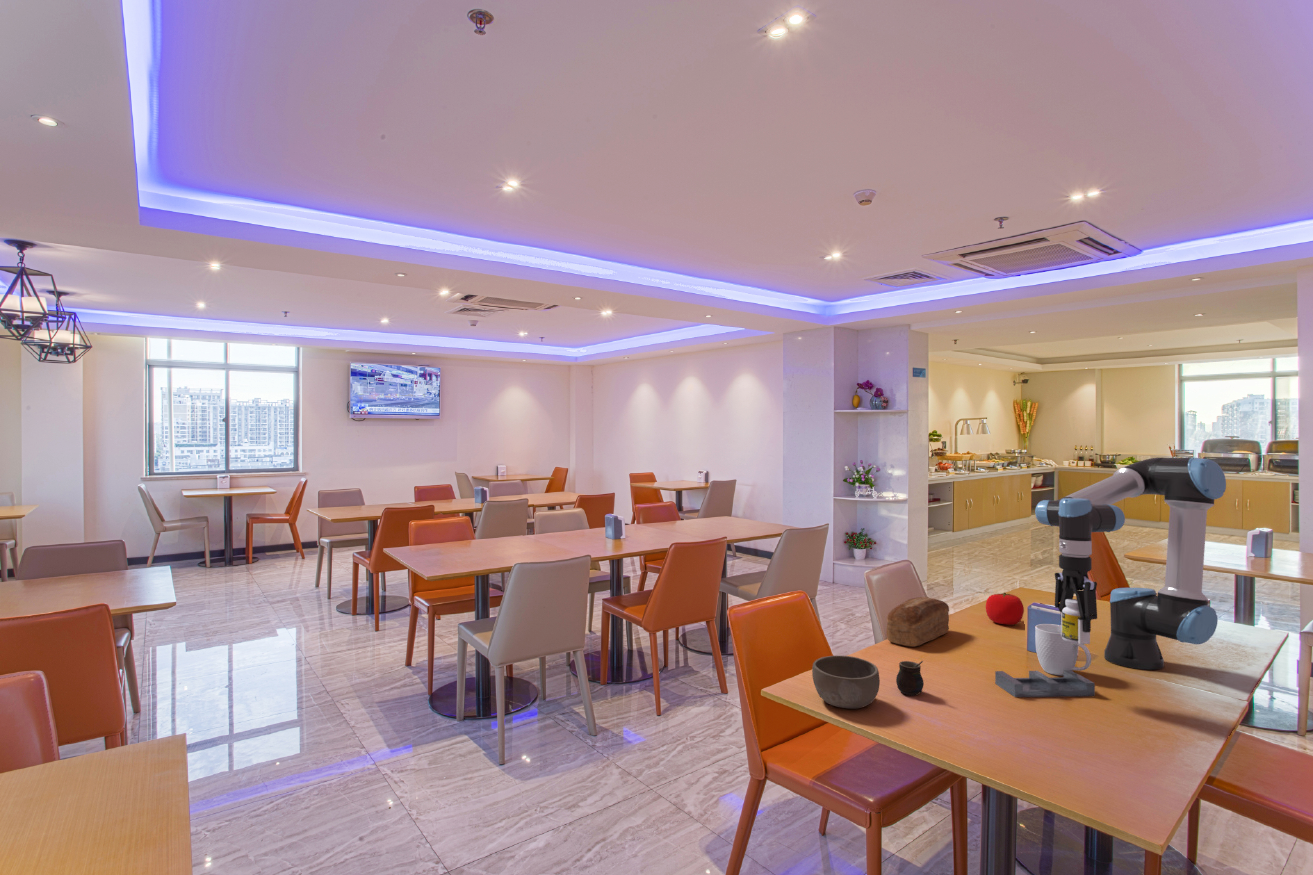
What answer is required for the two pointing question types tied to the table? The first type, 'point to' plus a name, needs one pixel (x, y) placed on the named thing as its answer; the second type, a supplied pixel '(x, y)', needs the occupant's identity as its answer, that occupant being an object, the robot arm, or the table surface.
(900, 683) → the mate gourd
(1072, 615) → the pill bottle
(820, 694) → the bowl
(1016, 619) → the tomato
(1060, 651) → the mug
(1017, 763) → the table surface
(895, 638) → the bread
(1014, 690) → the gray divided tray
